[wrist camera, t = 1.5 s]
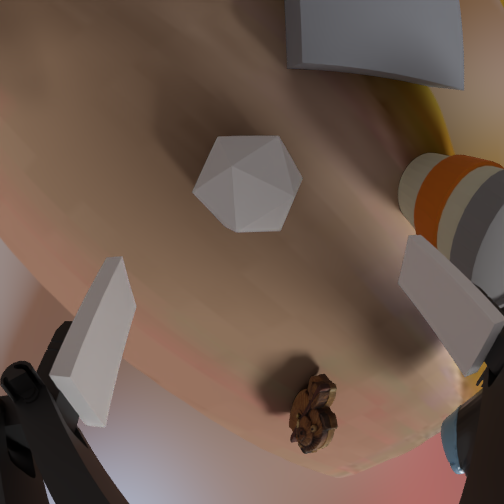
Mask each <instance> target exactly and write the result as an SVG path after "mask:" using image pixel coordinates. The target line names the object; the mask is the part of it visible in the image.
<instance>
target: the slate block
mask: <svg viewBox="0 0 504 504" xmlns="http://www.w3.org/2000/svg"><path fill="white" fill-rule="evenodd" d="M284 2H285V24H286V52H287V69H308V70H323V71H335V72H345V73H354V74H362V75H370V76H377V77H383V78H389V79H395V80H400V81H406V82H411V83H416V84H420V85H425V86H428V87H438V88H448V89H456V90H464V51H463V34H462V22H461V13H460V5H459V0H284Z"/></svg>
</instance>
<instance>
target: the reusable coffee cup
mask: <svg viewBox="0 0 504 504" xmlns="http://www.w3.org/2000/svg"><path fill="white" fill-rule="evenodd" d="M398 203H399V206H400V209H401V211H402V213H403V215H404V216H405V217H406V219H407V220H408V221H409V222H410V223H411V225H412V226H413V227H414V228H415V230H416V234H417V235H422V236H423V237H424V238H425V239H426V240H427V241H428V242H430V243H431V244H432V245H433V246H434V247H435V248H436V249H437V250H438V251H440V252H441V253H442V254H443V255H444V256H445V257H446V258H447V259H448V260H449V261H450V262H451V263H452V264H453V265H454V266H456V267H457V268H458V269H459V270H460V271H461V272H462V273H463V274H464V275H465V276H466V277H467V278H468V279H469V280H470V281H471V282H472V283H474V284H475V285H477V286H479V287H480V288H481V289H482V290H483V291H484V292H485V293H486V294H487V295H488V297H490V298H491V299H492V300H493V302H495V303H496V304H497V305H498V306H499V307H500V308H502V307H504V168H503V167H502V166H501V165H500V164H497V163H495V162H492V161H488V160H484V159H480V158H475V157H471V156H466V155H453V156H447V155H442V154H437V153H426V154H422V155H420V156H418V157H417V158H415V159H414V160H413V161H412V162H411V163H410V164H409V165H408V166H407V168H406V169H405V171H404V173H403V175H402V177H401V180H400V183H399V187H398Z"/></svg>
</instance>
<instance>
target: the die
mask: <svg viewBox="0 0 504 504" xmlns="http://www.w3.org/2000/svg"><path fill="white" fill-rule="evenodd" d="M302 179H303V178H302V176H301V174H300V172H299V170H298V169H297V167H296V165H295V163H294V161H293V160H292V158H291V156H290V154H289V153H288V151H287V149H286V147H285V146H284V144H283V142H282V140H281V139H280V137H279V136H218V137H217V139H216V141H215V143H214V145H213V147H212V150H211V152H210V154H209V156H208V158H207V160H206V162H205V165H204V167H203V169H202V171H201V173H200V176H199V178H198V180H197V182H196V184H195V187H194V189H193V191H192V193H193V194H194V195H195V196H196V197H197V198H198V199H199V200H200V201H201V202H202V203H203V204H204V205H205V206H206V207H207V208H208V209H209V211H210V212H211V213H212V214H213V215H214V216H215V217H216V218H217V219H218V220H219V221H220V222H221V223H222V224H223V225H224V226H225V227H226V228H228V229H230V230H232V231H234V232H265V231H281V229H282V226H283V224H284V222H285V219H286V217H287V215H288V212H289V210H290V207H291V205H292V203H293V200H294V198H295V196H296V193H297V191H298V189H299V186H300V184H301V181H302Z"/></svg>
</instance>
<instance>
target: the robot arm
mask: <svg viewBox="0 0 504 504" xmlns="http://www.w3.org/2000/svg"><path fill="white" fill-rule="evenodd" d="M398 284H399V286H400V287H401V288H402V289H403V291H404V292H405V293H406V295H407V296H408V297H409V298H410V300H411V301H412V302H413V304H414V305H415V306H416V308H417V309H418V310H419V312H420V313H421V314H422V316H423V317H424V318H425V320H426V321H427V323H428V324H429V325H430V327H431V328H432V329H433V331H434V332H435V334H436V335H437V337H438V338H439V339H440V341H441V342H442V344H443V345H444V347H445V348H446V349H447V351H448V352H449V354H450V355H451V357H452V358H453V360H454V361H455V363H456V364H457V366H458V367H459V369H460V370H461V372H462V373H463V375H464V377H466V376H468V375H471V374H473V373H475V372H477V371H478V370H479V368H480V367H481V365H482V363H483V362H485V363H486V364H487V367H486V369H485V370H484V372H483V374H482V375H481V377H480V378H479V380H478V381H477V384H476V385H477V386H478V385H479V384H480V382H481V381H482V380H483V384H482V386H481V387H483V388H482V389H481V390H480V391H479V392H478V393H476V394H475V395H474V396H473V397H471V398H470V399H469V400H468V401H466V402H465V403H464V404H463V405H460V406H459V407H458V408H457V410H455V411H454V412H453V413H452V414H451V415H449V416H448V417H447V418H446V419H445V420H444V421H443V423H442V426H441V439H442V444H443V448H444V451H445V455H446V457H447V459H448V461H449V462H450V466H451V468H452V470H453V471H454V472H455V473H456V474H463V473H465V474H466V477H467V479H466V483H465V486H464V489H463V493H462V496H461V499H460V503H459V504H504V307H502V308H500V307H499V306H498V305H497V304H496V303H495V302H493V300H492V299H491V298H490V297H488V295H487V294H486V293H485V292H484V291H483V290H482V289H481V288H480V287H479V286H477V285H475V284H474V283H472V282H471V281H470V280H469V279H468V278H467V277H466V276H465V275H464V274H463V273H462V272H461V271H460V270H459V269H458V268H457V267H456V266H454V265H453V264H452V263H451V262H450V261H449V260H448V259H447V258H446V257H445V256H444V255H443V254H442V253H441V252H440V251H438V250H437V249H436V248H435V247H434V246H433V245H432V244H431V243H430V242H428V241H427V240H426V239H425V238H424V237H423V236H422V235H410V236H408V241H407V246H406V250H405V255H404V259H403V264H402V268H401V272H400V276H399V280H398ZM135 309H136V304H135V300H134V297H133V294H132V290H131V287H130V283H129V280H128V276H127V272H126V268H125V265H124V261H123V257H122V256H120V257H107V258H106V260H105V261H104V263H103V265H102V267H101V268H100V270H99V272H98V274H97V276H96V278H95V279H94V281H93V283H92V285H91V287H90V289H89V291H88V292H87V294H86V296H85V298H84V300H83V302H82V304H81V306H80V308H79V310H78V312H77V314H76V316H75V318H74V320H73V321H65V322H64V323H63V324H62V325H61V326H60V327H59V328H58V329H57V330H56V332H55V334H54V336H53V338H52V340H51V342H50V344H49V346H48V348H47V349H48V350H46V352H45V354H44V356H43V359H42V361H41V363H40V365H39V367H38V370H37V372H36V371H35V370H34V368H33V367H32V365H31V364H30V363H28V362H26V361H18V362H15V363H13V364H11V365H10V366H9V367H7V369H6V370H5V371H4V372H3V374H2V376H1V379H0V380H1V381H0V382H1V384H0V385H1V387H2V388H3V389H4V390H5V392H6V393H7V394H8V395H7V396H0V504H49V501H48V498H47V494H46V489H45V485H44V482H45V484H46V486H47V488H48V490H49V492H50V494H51V496H52V497H53V500H54V502H55V503H56V504H129V503H128V502H127V500H126V499H125V497H124V496H123V495H122V493H121V492H120V491H119V489H118V488H117V487H116V485H115V484H114V482H113V481H112V480H111V478H110V477H109V475H108V474H107V472H106V471H105V469H104V468H103V466H102V465H101V463H100V462H99V460H98V459H97V457H96V455H95V454H94V452H93V451H92V449H91V447H90V446H89V444H88V442H87V441H86V439H85V437H84V435H83V434H82V432H81V430H80V429H79V428H78V427H77V423H78V419H79V417H80V418H81V420H82V421H83V422H84V423H85V424H86V425H88V426H96V427H106V422H107V417H108V413H109V408H110V404H111V399H112V395H113V391H114V386H115V382H116V378H117V374H118V370H119V366H120V362H121V359H122V355H123V351H124V347H125V344H126V340H127V337H128V333H129V330H130V326H131V323H132V319H133V316H134V313H135ZM43 480H44V481H43Z"/></svg>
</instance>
